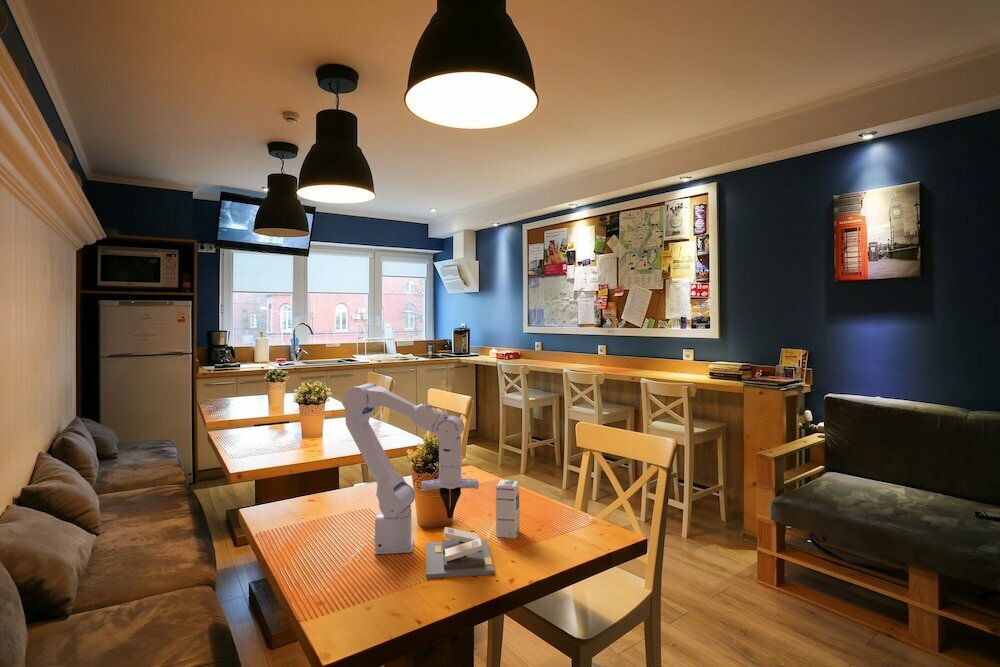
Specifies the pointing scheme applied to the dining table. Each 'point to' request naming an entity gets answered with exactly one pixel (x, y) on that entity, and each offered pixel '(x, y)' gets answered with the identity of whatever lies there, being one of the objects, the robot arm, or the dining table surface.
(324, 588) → the dining table surface
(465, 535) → the back rocker
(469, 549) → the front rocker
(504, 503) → the syrup box
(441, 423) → the robot arm
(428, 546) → the switch board
